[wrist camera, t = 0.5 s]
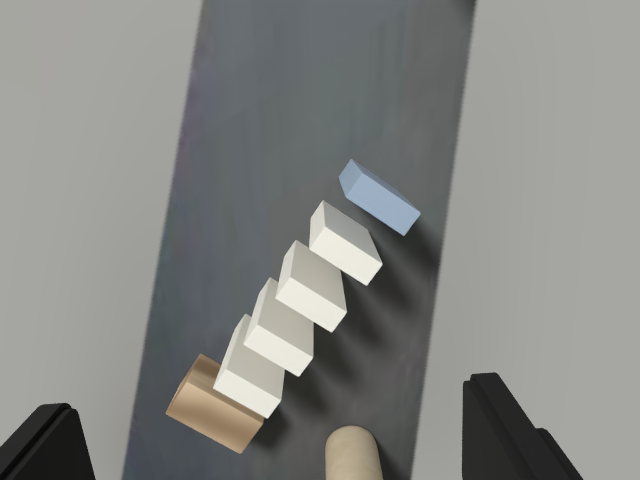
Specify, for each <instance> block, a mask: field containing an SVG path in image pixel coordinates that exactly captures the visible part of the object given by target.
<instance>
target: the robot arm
mask: <svg viewBox="0 0 640 480" xmlns="http://www.w3.org/2000/svg"><path fill="white" fill-rule="evenodd" d="M462 428H463V431H462V478H463V480H583V478H582V477H581V476H580V474H579V473H578V471H577V470H576V469H575V467H574V466H573V465H572V463H571V462H570V460H569V459H568V458H567V456H566V455H565V453H564V452H563V451H562V449H561V448H560V447H559V445H558V444H557V442H556V441H555V440H554V438H553V437H552V436H551V434H550V433H549V432H548V431H547V430H545V429H543V428H535V427H534V426H533V424H532V423H531V421H530V420H529V419H528V417H527V416H526V414H525V413H524V411H523V410H522V408H521V407H520V405H519V404H518V402H517V401H516V400H515V398H514V397H513V395H512V394H511V392H510V391H509V389H508V388H507V387H506V385H505V384H504V382H503V381H502V379H501V378H500V376H499V375H498V374H497V373H495V372H494V373H482V374H481V373H480V374H472V375H471V378H470V381H464V383H463V427H462ZM0 480H96V479H95V476H94V472H93V468H92V464H91V460H90V456H89V453H88V449H87V445H86V441H85V437H84V433H83V429H82V426H81V422H80V418H79V414H78V412H77V410H76V409H72V408H71V406H70V405H69V404H67V403H58V404H44V405H41V406H39V407H38V408H37V409H36V410H35V411H34V412H33V413H32V414H31V415H30V416H29V417H28V418H27V419H26V420H25V422H24V423H23V424H22V425H21V426H20V427H19V428H18V429H17V430H16V431H15V432H14V433H13V434H12V435H11V436H10V438H9V439H8V440H7V441H6V442H5V443H4V444H3V445H2V446H1V447H0Z"/></svg>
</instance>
